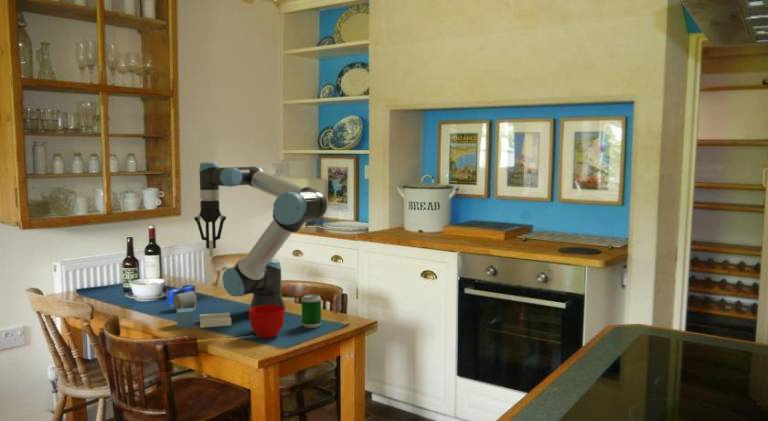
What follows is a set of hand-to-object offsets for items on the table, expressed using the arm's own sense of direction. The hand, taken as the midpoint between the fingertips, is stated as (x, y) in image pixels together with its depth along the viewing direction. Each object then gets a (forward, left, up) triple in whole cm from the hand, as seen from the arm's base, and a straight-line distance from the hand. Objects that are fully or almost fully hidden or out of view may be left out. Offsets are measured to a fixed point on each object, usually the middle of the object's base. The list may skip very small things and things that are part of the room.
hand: (211, 256), depth 263 cm
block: (+11, +19, -23) cm, 32 cm away
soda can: (-36, +31, -25) cm, 54 cm away
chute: (+4, +19, -24) cm, 31 cm away
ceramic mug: (+10, -10, -25) cm, 29 cm away
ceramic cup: (-17, +37, -25) cm, 48 cm away
